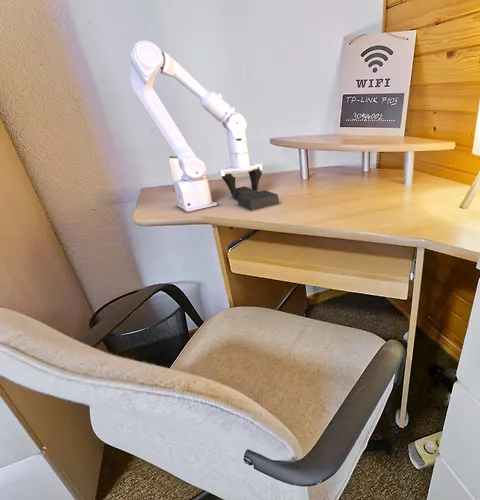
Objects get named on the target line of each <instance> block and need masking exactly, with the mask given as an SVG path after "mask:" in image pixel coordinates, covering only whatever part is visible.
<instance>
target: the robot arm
mask: <svg viewBox="0 0 480 500" xmlns="http://www.w3.org/2000/svg"><path fill="white" fill-rule="evenodd" d="M129 67H130V68H129V78H130V79H129V84H130V87H131V89H132V91H133V93H134V94H135V95H136V97H137V98H138V100H139V101H140V103H141V105H142V106H143V107H144V109H145V110H146V112H147V113H148V115H149V117H150V118H151V120H152V121H153V122H154V124H155V125H156V127H157V129H158V130H159V132H160V133H161V135H162V136H163V138H164V140H165V141H166V142H167V144H168V145H169V147H170V149H171V150H172V151H173V153H174V156H175V155H176V156H177V158H178V160H179V166H180V168H181V169H182V170H183V175H182V176H181V180H179V181H175V182H174V181H173V187H174V188H173V189H174V190H175V191H174V192H175V196H176V200H177V204H178V205H177V206H178V207H179V208H181V209H182V210H184V211H185V212H187V213H188V212H192V211H193V212H194V211H197V210H202V209H205V208H210V207H211V208H212V207H214V206H218V203H217V202H214V201H213V200H212V194H211V190H210V183H209V179H208V175H207V173H206V171H207V168H206V164H205V162H204V161H202V160H201V158H199V157H198V156H197V155H196V154H195V152H194V151H193V150H192V149H191V146H189V144H188V142H187V141H186V139H185V137H184V136H183V134H182V133H181V131H180V130H179V128H178V126H177V125H176V123H175V122H174V120H173V118H172V117H171V116H170V113H169V111H168V110H167V109H166V107H165V105H164V104H163V103H162V100H161V98H160V97H159V96H158V94H157V92H156V91H155V90H154V88H153V87H154V83H155V78H156V74H157V73H158V72H159V71H160V74H161V75H164V76H168V77H172V78H174V79H175V81H177V82H178V83H179V84H180V85H182V86H183V87H185V88H186V89H187V90H188V91H189V92H190V93H192V94H193V95H194V96H196V97H197V98H198V99H199V101H200V106H201V108H203V109H204V110H205V111H206V112H207V113H208V114H210V115H211V116H212V117H213V118H214V119H216V120H217V121H218V122H219V123H221V124H222V126H223V127H224V129H226V130H225V131H226V140H227V148H228V152H229V159H230V166H228V167H223V168H218V169H217V171H218V175H219V177H221V179H222V180H223V181H224V183H225V184H226V187H228V190H229V192H230V194H231V197H232V196H233V197H237V193H236V188H237V187H236V176H233V175H236V174H242V173H243V174H244V173H248V176H249V179H250V184H251V185H250V186H251V189H253V190H255V191H259V190H258V189H259V182H260V180H261V177H262V174H263V172H262V171H263V163H259V162H258V163H251V162H250V157H249V150H248V143H247V142H248V141H247V137H246V130H247V126H248V123H247V121H246V119H245V117H244V116H243V115H242V114H241V113H239V112H236V107H234V106H231V105H230V104H229V103H228V102H227V101H225V100H224V99H223V98H222V97H223V95H222V93H220V92H215V90H207V89H206V88H204V86H203V85H202V84H201V83H200V82H198V81H197V79H196V78H194V76H192V74H190V73H189V72H188V71H187V70H186V69H185V68H184V67H183V66H181V64H179V63H178V61H176V60H175V59H174V58H173V57H172V56H171V55H170V54H168V53H166V52H165V50H161V49H160V47H159V46H158V45H157V44H155V43H154V42H152V41H149V40H140V41H139V40H138V41H137V42H136V43H135V44H134V46H133V49H132V51H131V53H130V57H129ZM233 197H232V198H233Z"/></svg>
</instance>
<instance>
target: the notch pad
mask: <svg viewBox="0 0 480 500" xmlns="http://www.w3.org/2000/svg"><path fill="white" fill-rule="evenodd" d="M257 191H258V192H256V193H258V194H255V195H248V194H244V195H239V196H237V197H238V200H237V202H238V206H240V207H243V208H244V209H246V210H249V211H255V210H259V209H263V208H267V207H271V206H275V205H279V204H280V202H279V194H277V193H274V192H271V191H269V190H266V189H262V190H257Z"/></svg>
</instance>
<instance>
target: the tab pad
mask: <svg viewBox="0 0 480 500" xmlns="http://www.w3.org/2000/svg"><path fill="white" fill-rule="evenodd" d="M235 188H236V193H237V196H239V195H244V194H248V195H255V194H258V193H256V192H258V191H259V190H257V191H255V190H253V189H252V188H250V187H247V186H240V187H235ZM231 197H232V198H233V199H235V200H237V201H238V197H233V196H232V195H231Z"/></svg>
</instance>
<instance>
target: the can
mask: <svg viewBox="0 0 480 500" xmlns="http://www.w3.org/2000/svg"><path fill="white" fill-rule="evenodd" d="M168 165H169V168H170V172H171V176H172V180H173V183H174V182H175V181H179V180H181V176H182V175H183V170H182V169H181V168H180V166H179V160H178V158H177V156H176V155H175V154H174V155H170V156H169V160H168Z"/></svg>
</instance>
